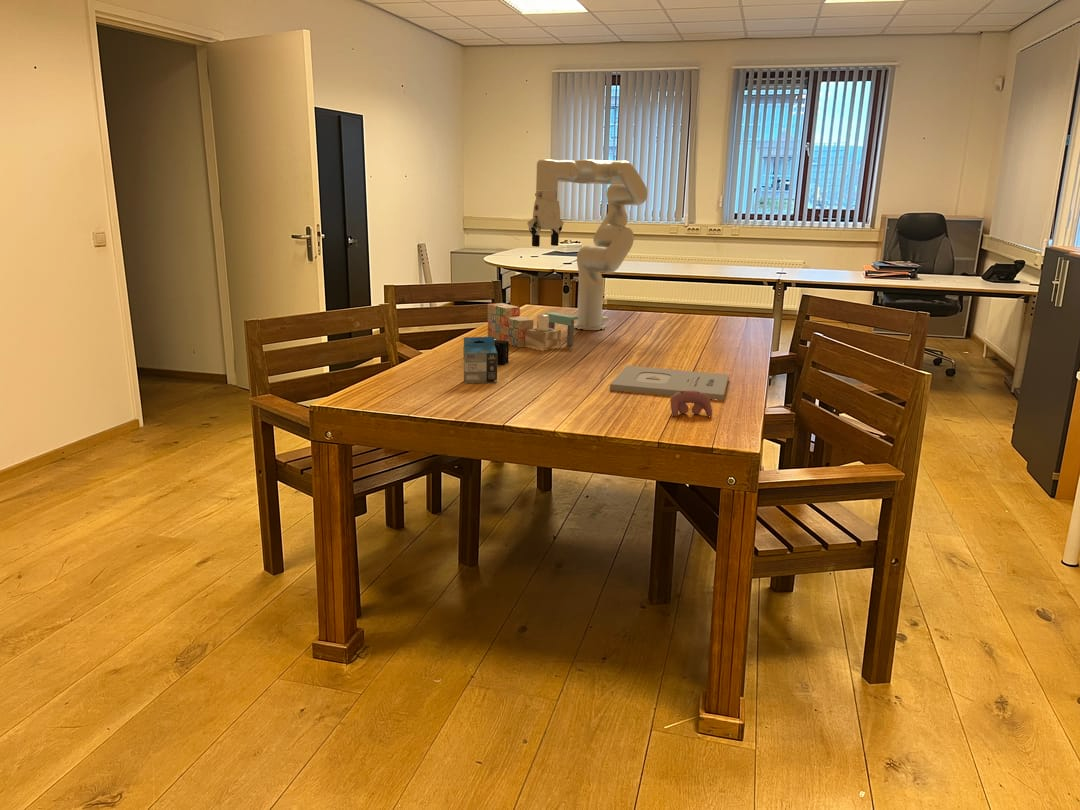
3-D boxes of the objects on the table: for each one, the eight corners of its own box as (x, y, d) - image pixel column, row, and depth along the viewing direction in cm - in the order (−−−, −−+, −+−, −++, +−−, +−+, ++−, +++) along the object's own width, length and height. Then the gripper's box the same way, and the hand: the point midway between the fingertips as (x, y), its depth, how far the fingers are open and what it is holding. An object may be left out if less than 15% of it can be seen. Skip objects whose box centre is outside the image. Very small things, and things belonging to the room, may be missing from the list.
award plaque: (722, 403, 202) (723, 394, 202) (609, 392, 210) (610, 383, 210) (728, 381, 225) (729, 374, 224) (625, 372, 233) (626, 365, 232)
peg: (550, 344, 264) (551, 315, 261) (542, 346, 261) (543, 316, 258) (542, 342, 267) (542, 313, 264) (534, 344, 264) (534, 315, 261)
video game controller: (708, 420, 190) (707, 392, 192) (714, 417, 186) (712, 388, 187) (668, 419, 190) (668, 391, 191) (673, 416, 185) (672, 387, 187)
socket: (543, 344, 270) (543, 327, 269) (560, 347, 265) (560, 330, 263) (525, 347, 264) (525, 329, 262) (541, 351, 259) (542, 333, 257)
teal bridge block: (552, 340, 278) (552, 312, 275) (577, 345, 270) (578, 316, 267) (544, 341, 275) (545, 313, 273) (569, 346, 267) (570, 317, 265)
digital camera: (470, 363, 238) (470, 340, 236) (477, 359, 243) (477, 337, 241) (501, 366, 235) (501, 343, 233) (508, 363, 240) (508, 340, 238)
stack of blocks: (533, 346, 266) (534, 310, 263) (517, 348, 263) (518, 311, 260) (502, 336, 284) (502, 302, 281) (487, 337, 281) (487, 303, 277)
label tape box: (465, 384, 212) (465, 339, 209) (463, 380, 216) (463, 337, 213) (497, 383, 215) (498, 339, 211) (494, 379, 218) (494, 336, 215)
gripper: (536, 196, 265) (535, 247, 269) (571, 197, 277) (569, 246, 281) (521, 195, 270) (520, 246, 274) (555, 196, 282) (554, 244, 286)
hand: (545, 246), depth 278 cm, fingers open, 9 cm apart
